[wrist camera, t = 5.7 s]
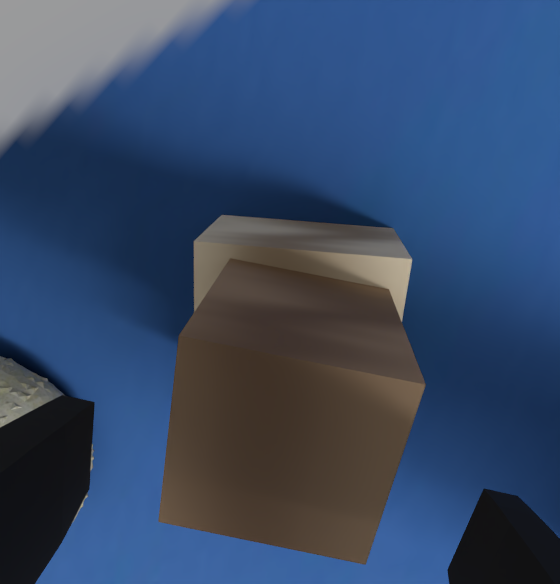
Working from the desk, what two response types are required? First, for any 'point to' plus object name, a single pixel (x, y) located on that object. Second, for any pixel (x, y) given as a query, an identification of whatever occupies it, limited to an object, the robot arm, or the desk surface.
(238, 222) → the beech base
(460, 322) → the desk surface
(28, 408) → the sea urchin shell
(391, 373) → the walnut block
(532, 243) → the desk surface
